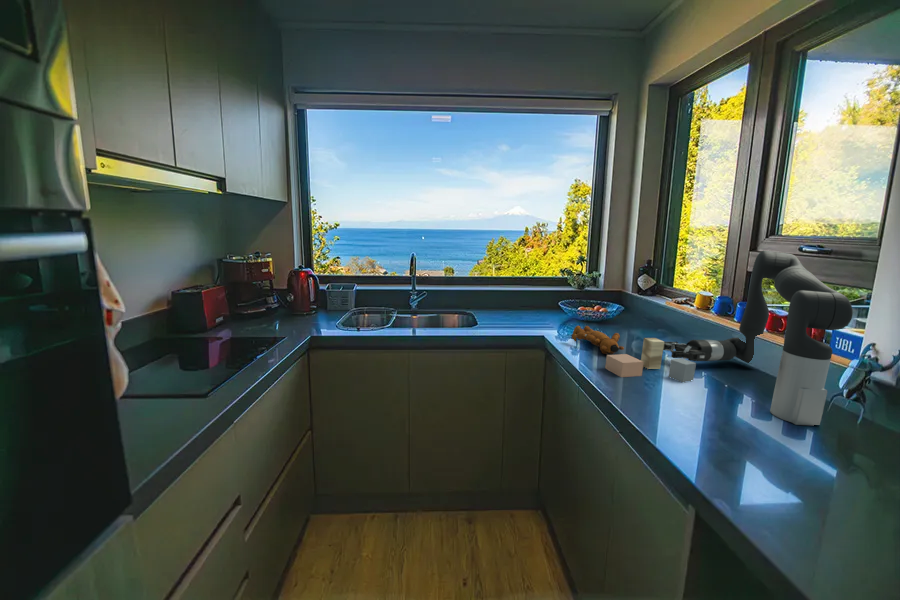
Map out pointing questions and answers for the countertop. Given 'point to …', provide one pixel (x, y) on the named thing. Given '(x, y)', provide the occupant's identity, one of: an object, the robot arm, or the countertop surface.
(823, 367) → the robot arm
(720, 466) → the countertop surface
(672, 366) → the grey block
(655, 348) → the beech pillar
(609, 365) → the terracotta block
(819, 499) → the countertop surface
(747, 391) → the countertop surface
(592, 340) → the toy
